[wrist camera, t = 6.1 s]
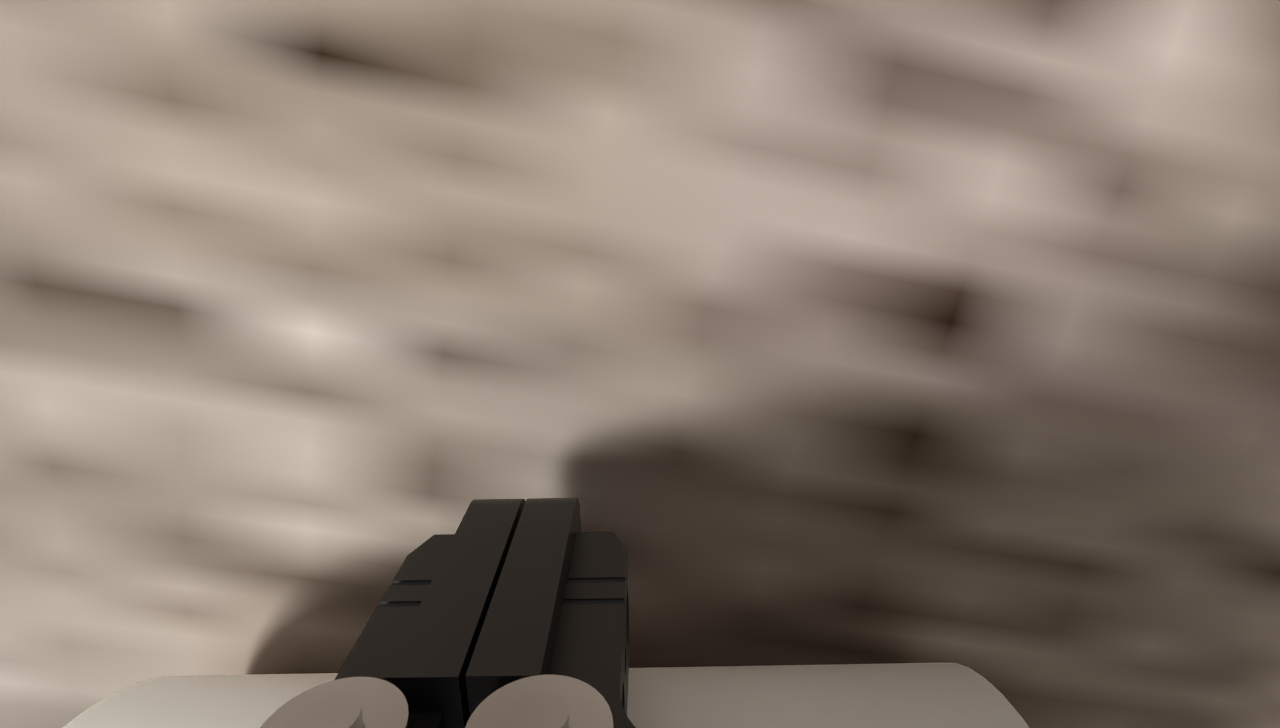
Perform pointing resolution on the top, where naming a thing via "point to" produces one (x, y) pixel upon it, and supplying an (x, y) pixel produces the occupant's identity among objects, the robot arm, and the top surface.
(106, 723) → the roll
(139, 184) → the top surface
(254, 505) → the top surface
